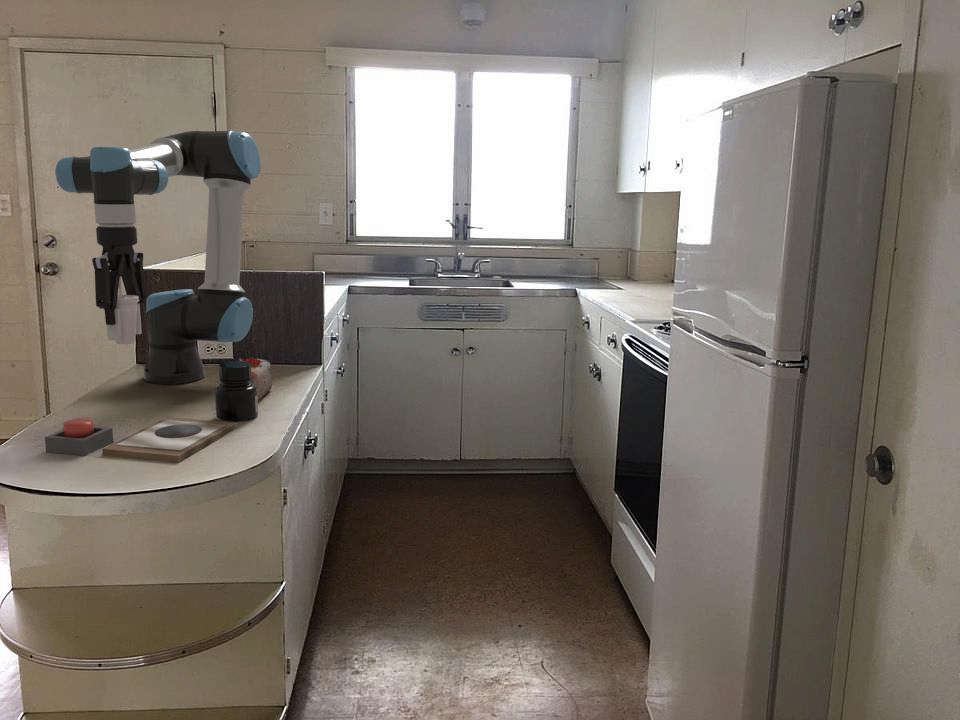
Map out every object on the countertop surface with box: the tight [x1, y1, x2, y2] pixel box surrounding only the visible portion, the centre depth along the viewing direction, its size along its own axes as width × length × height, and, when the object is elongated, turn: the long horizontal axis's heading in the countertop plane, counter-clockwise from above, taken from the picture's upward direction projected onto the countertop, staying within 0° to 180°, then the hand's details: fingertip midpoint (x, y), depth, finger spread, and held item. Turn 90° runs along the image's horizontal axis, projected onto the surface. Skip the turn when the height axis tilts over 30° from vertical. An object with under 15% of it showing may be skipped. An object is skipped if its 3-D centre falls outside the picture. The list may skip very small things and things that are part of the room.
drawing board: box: [101, 416, 238, 463], centre depth 160 cm, size 22×16×2 cm
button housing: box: [44, 425, 114, 456], centre depth 155 cm, size 8×8×3 cm
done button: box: [62, 418, 95, 438], centre depth 154 cm, size 5×5×2 cm
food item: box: [238, 357, 273, 401], centre depth 193 cm, size 14×8×10 cm, turn 179°
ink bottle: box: [214, 360, 259, 422], centre depth 176 cm, size 10×9×12 cm
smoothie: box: [110, 277, 139, 345], centre depth 166 cm, size 6×6×14 cm
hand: (125, 336), depth 167 cm, fingers closed on smoothie, 6 cm apart
